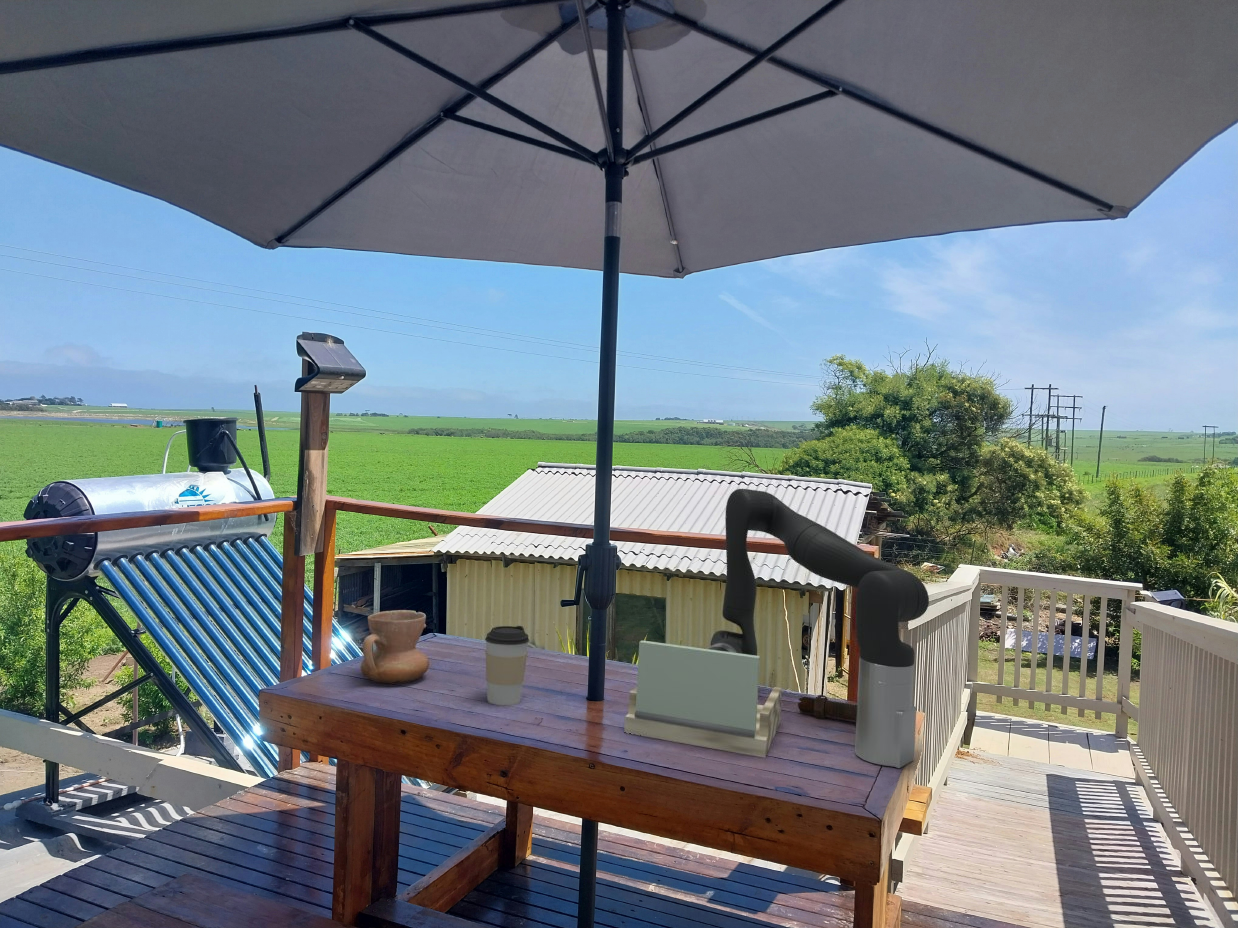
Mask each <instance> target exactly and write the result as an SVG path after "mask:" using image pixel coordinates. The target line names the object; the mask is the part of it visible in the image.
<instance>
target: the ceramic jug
mask: <svg viewBox="0 0 1238 928" xmlns="http://www.w3.org/2000/svg"><path fill="white" fill-rule="evenodd" d="M426 619H427V616H426V613H424V612H421V611H418V612H416V610H409V609H408V610H407V609H403V610H402V609H398V610H386V611H380V612H375V613H374V614H370V615H369V616H367V624H368V628H369V629H368V630H369V632H370V635H368V636H366V637H364V640H363V642H362V654H363V658H364V659H363V660H362V661H361V664H360V670H361V673H362V674H363V676H364V677H366V678H367V679H369V680H371V681H374V682H378V683H382V684H403V683H404V684H405V683H408V682H411V681H412V682H413V681H415V680H417V679H420V678H421V677H423V675H425V674H426V673H427V671H428V669H429V667H430V659H429V658H428V656H427V655H426V654H425V653H423V652H422V651H421V650H419V649H418V648H417V647H416V646H417V645H418V643H419V640H420V638H421V635H422V633H423V631H424V629H426V627H427V625H426ZM374 645H375V647H376V649H375V650H374V651H373V646H374Z"/></svg>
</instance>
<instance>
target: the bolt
mask: <svg viewBox="0 0 1238 928" xmlns="http://www.w3.org/2000/svg"><path fill="white" fill-rule="evenodd" d="M817 696H818V697H816V696H815V697H814V698H813V697H810V696H809V697H808V696H801V697H799V698H798V701H799V702H797V707H798V709H799V711H800V712H802V713H808V714H813V715H814V717H815V719H816V718H817V719H820V718H821V719H820V720H824V719H823V718H825V717H826V718H827V717H831V718H836V719H841V720H846V721H853V722H856V717H857V704H853V703H846V702H841V701H840V702H839V701H832V700H829V699H828V697H827V696H826V695H824V694H819V695H817ZM821 697H825V698H821ZM826 718H825V719H826Z"/></svg>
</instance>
